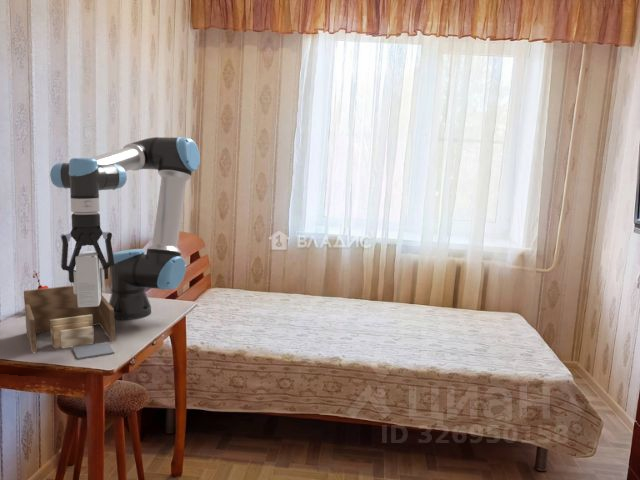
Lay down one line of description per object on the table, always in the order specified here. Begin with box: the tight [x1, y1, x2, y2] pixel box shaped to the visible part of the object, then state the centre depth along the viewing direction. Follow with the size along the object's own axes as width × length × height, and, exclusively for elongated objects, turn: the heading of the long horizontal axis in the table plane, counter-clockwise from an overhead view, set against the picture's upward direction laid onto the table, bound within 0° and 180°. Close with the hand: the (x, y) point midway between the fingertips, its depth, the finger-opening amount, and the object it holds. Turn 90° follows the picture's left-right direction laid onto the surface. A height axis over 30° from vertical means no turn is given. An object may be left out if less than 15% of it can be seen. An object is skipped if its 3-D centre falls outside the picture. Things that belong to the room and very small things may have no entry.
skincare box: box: [75, 250, 101, 307], centre depth 169 cm, size 8×6×15 cm
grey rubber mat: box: [72, 341, 115, 360], centre depth 173 cm, size 10×10×1 cm
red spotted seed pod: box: [32, 270, 49, 289], centre depth 213 cm, size 8×7×15 cm
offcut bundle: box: [50, 314, 95, 349], centre depth 179 cm, size 12×5×8 cm, turn 120°
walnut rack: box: [23, 285, 116, 353], centre depth 185 cm, size 23×21×14 cm
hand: (89, 291), depth 170 cm, fingers closed on skincare box, 7 cm apart
